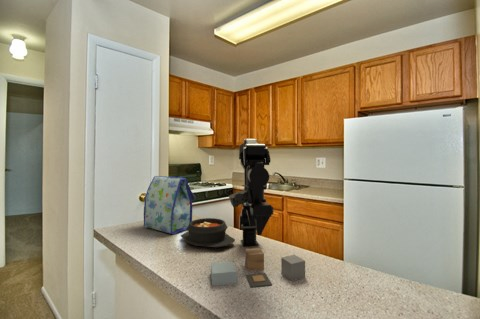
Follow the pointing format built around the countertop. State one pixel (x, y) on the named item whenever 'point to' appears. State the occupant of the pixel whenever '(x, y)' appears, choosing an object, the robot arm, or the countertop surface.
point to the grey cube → (293, 267)
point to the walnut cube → (254, 259)
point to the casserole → (207, 233)
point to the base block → (223, 273)
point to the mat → (258, 280)
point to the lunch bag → (168, 204)
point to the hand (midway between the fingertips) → (255, 230)
